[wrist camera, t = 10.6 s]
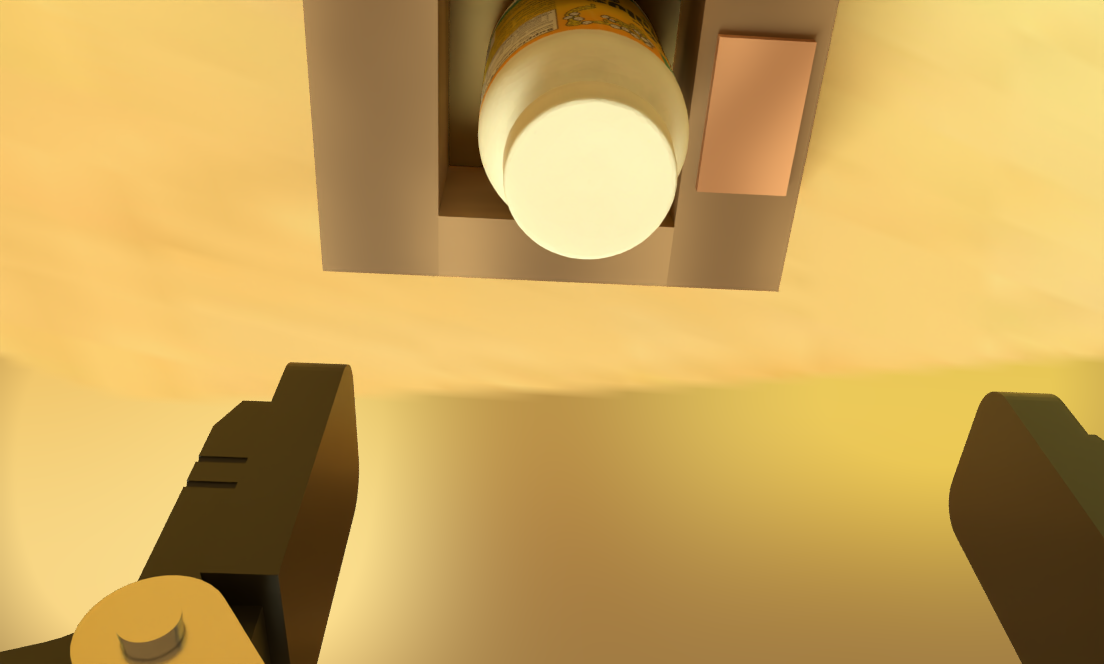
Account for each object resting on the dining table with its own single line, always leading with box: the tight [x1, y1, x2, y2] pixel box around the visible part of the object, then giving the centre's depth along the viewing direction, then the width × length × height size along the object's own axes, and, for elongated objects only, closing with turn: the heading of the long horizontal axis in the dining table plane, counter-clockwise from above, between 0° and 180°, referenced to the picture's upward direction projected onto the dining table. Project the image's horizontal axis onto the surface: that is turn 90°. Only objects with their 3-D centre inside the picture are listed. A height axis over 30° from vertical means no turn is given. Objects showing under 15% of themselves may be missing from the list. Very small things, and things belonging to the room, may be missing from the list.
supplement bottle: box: [478, 0, 689, 259], centre depth 26 cm, size 5×5×10 cm
